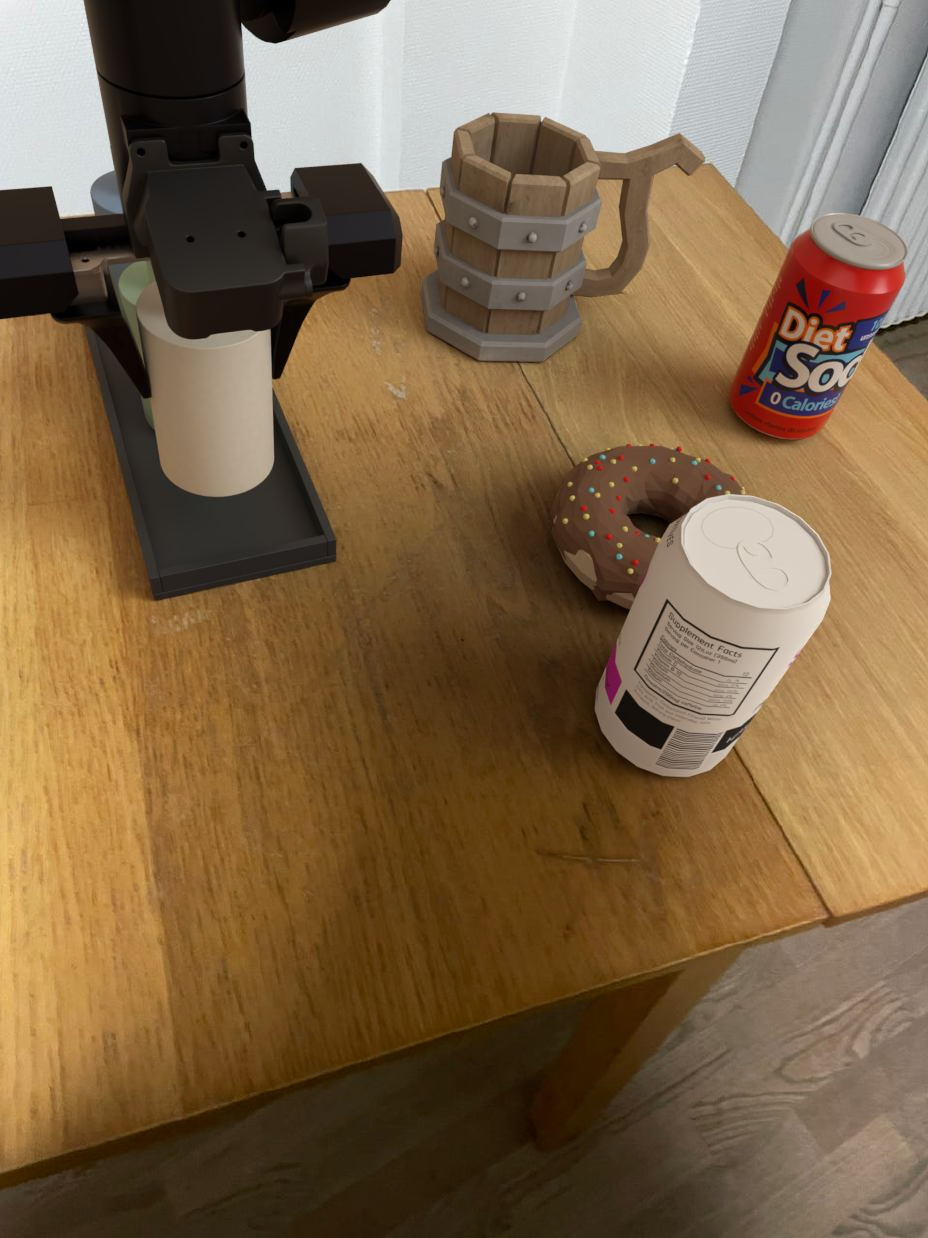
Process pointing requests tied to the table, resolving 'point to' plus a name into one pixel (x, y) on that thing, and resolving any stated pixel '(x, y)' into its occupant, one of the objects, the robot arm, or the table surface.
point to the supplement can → (711, 632)
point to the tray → (211, 504)
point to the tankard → (532, 232)
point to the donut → (626, 512)
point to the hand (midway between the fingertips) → (211, 384)
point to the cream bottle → (208, 403)
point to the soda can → (817, 324)
